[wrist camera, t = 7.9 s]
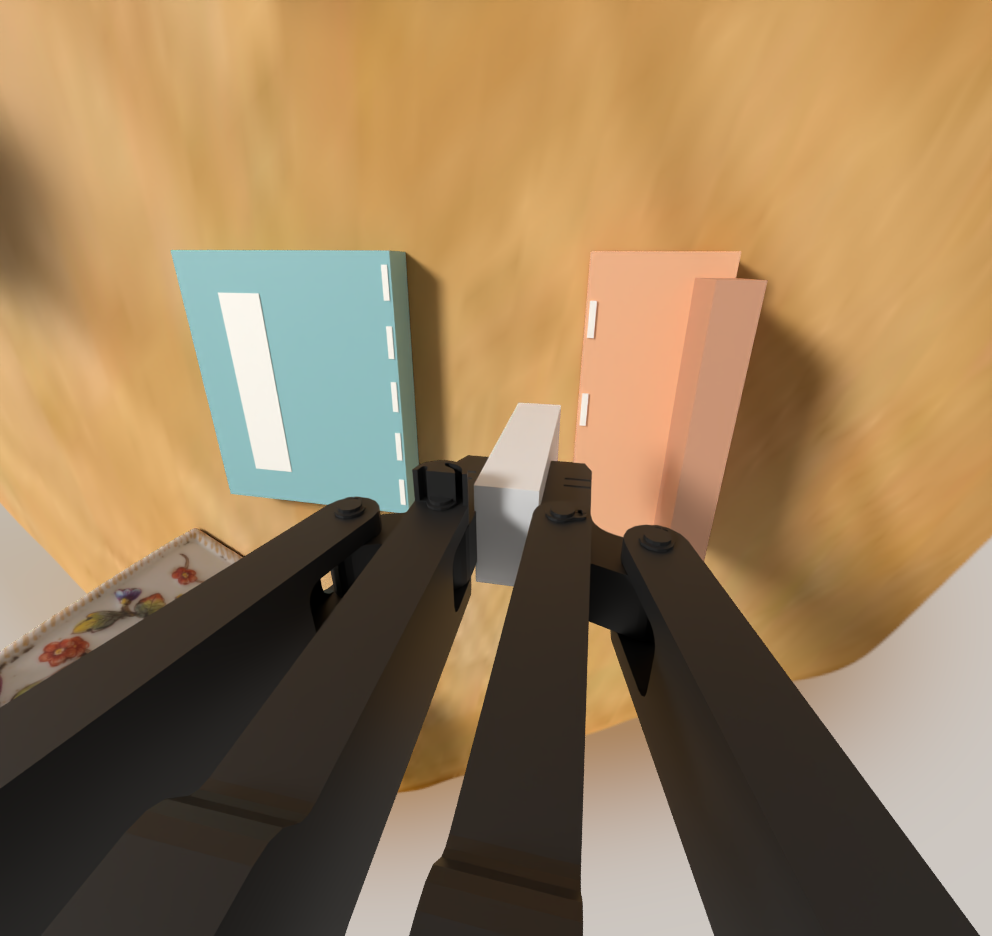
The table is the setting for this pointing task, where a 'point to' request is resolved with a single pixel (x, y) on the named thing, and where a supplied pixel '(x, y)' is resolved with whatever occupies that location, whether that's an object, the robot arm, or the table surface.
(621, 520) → the stub
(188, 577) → the decorative jar
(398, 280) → the ticket
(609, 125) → the table surface
